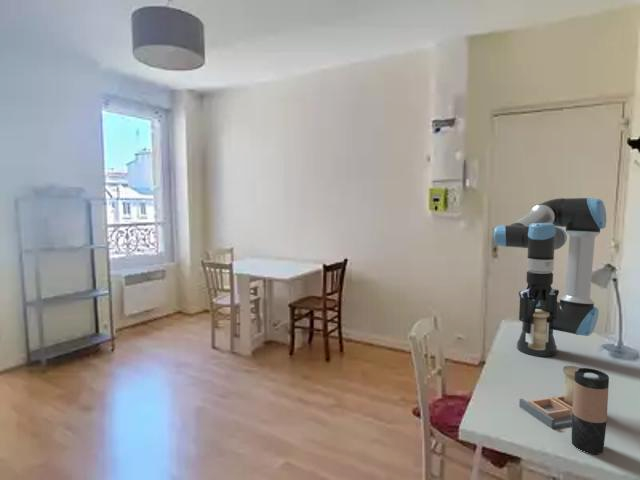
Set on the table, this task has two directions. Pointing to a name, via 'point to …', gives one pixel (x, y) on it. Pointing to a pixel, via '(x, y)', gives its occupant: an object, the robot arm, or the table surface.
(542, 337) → the cream pawn-shaped knob
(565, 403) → the housing
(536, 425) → the table surface
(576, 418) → the travel mug
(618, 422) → the table surface
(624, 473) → the table surface
